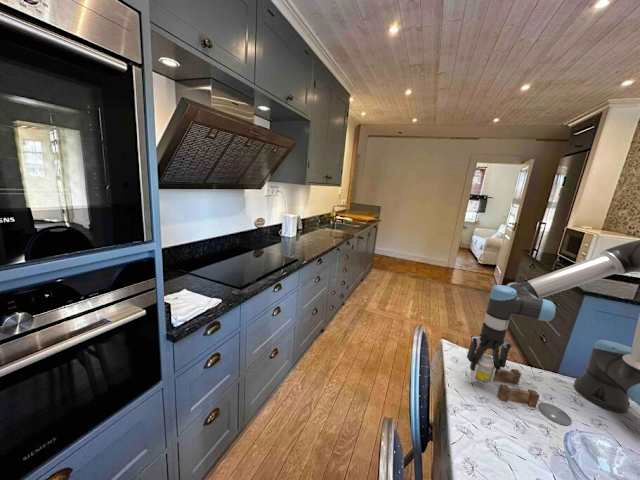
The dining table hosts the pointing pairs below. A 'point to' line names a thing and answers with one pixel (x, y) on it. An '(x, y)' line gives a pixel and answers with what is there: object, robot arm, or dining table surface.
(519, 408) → the dining table surface
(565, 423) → the slate coaster
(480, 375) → the supplement bottle
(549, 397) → the dining table surface
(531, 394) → the walnut channel
